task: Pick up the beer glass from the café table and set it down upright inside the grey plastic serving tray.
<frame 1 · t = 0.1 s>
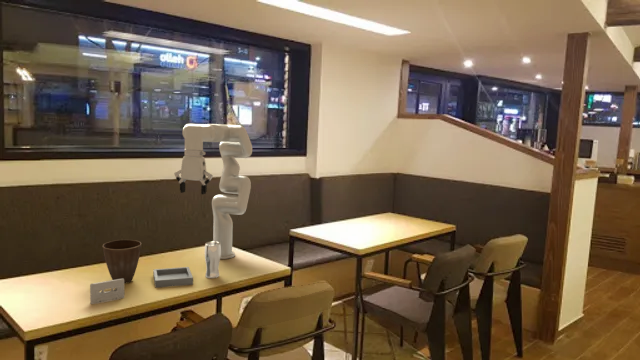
hand: (193, 193, 207), 37 cm above the table, tool pointing down, fingers open, 9 cm apart
plant pot: (122, 281, 202), on the table
serving tray: (172, 280, 205), on the table
beer glass: (212, 276, 213), on the table
cassette: (107, 301, 180), on the table
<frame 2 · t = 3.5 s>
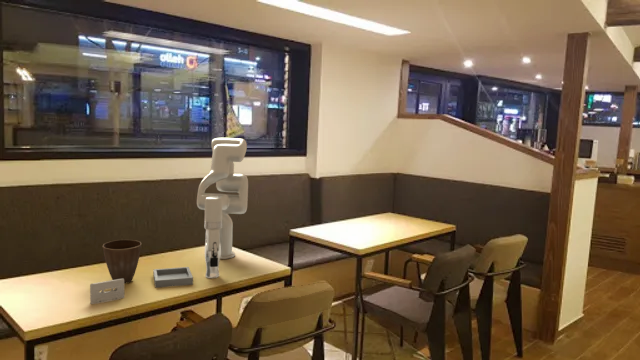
hand: (212, 263, 212), 6 cm above the table, tool pointing down, fingers closed on beer glass, 6 cm apart
beer glass: (212, 276, 213), on the table, touching gripper
everything else where it was.
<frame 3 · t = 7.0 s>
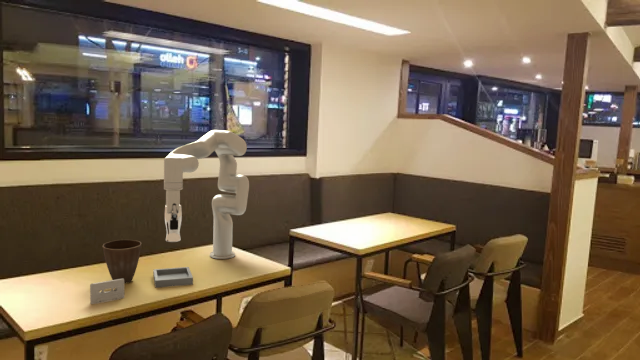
hand: (173, 227, 202), 23 cm above the table, tool pointing down, fingers closed on beer glass, 6 cm apart
beer glass: (173, 240, 203), point 17 cm above the table, touching gripper
everything else where it was.
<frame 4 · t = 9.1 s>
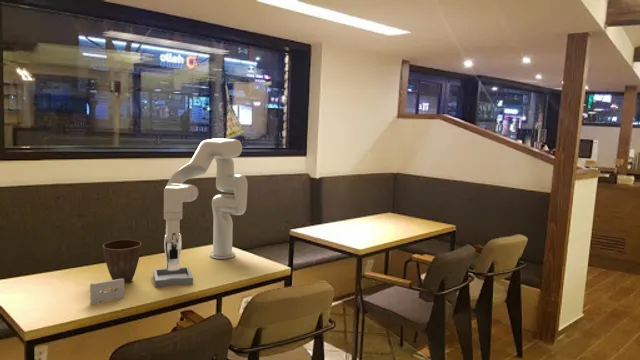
hand: (172, 256, 204), 11 cm above the table, tool pointing down, fingers closed on beer glass, 6 cm apart
beer glass: (172, 269, 205), point 5 cm above the table, touching gripper
everything else where it was.
when the fingers open (9 cm above the table, at t = 10.6 s): beer glass drops 2 cm, resting on serving tray.
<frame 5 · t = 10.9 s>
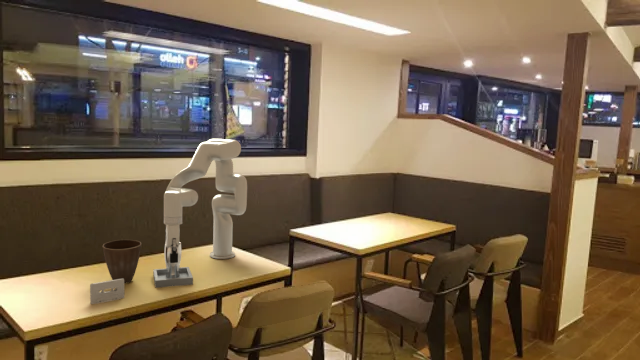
hand: (172, 259, 204), 9 cm above the table, tool pointing down, fingers open, 9 cm apart
beer glass: (172, 277, 206), point 1 cm above the table, touching serving tray
everything else where it was.
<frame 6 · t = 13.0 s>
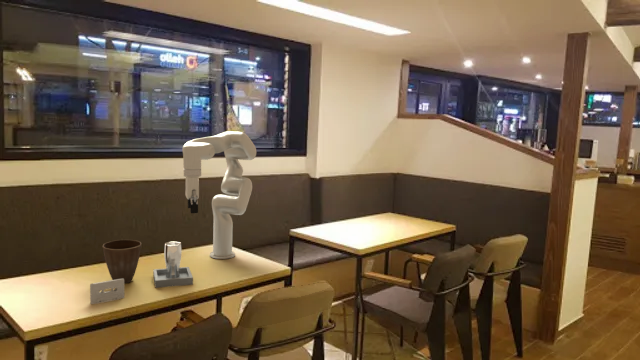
hand: (192, 210, 213), 29 cm above the table, tool pointing down, fingers open, 9 cm apart
nothing on the table moved.
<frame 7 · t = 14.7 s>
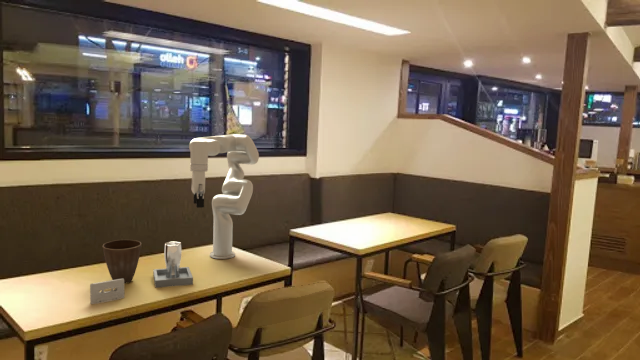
hand: (198, 205, 216), 30 cm above the table, tool pointing down, fingers open, 9 cm apart
nothing on the table moved.
at the end: beer glass inside the target area on the serving tray (0.5 cm from its centre), point 0.8 cm above the serving tray's base; beer glass tilted 0°; the gripper is holding nothing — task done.
